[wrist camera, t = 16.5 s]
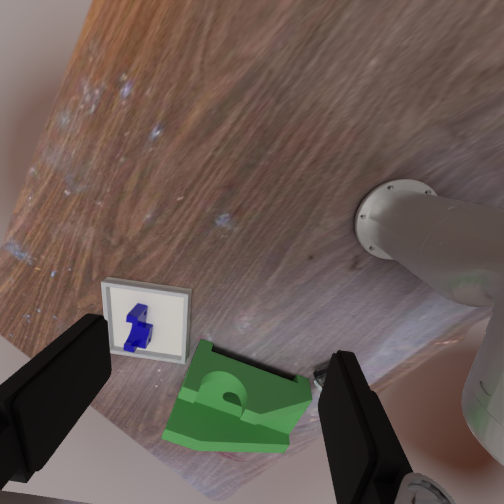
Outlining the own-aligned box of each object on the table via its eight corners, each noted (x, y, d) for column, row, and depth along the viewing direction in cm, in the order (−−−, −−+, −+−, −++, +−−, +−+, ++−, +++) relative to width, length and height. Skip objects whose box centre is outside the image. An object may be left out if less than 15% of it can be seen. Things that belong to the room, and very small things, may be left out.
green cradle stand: (182, 382, 56) (161, 438, 44) (201, 337, 51) (182, 386, 40) (282, 418, 57) (285, 480, 46) (308, 377, 53) (319, 435, 42)
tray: (191, 288, 47) (188, 294, 45) (188, 356, 53) (184, 364, 51) (108, 276, 48) (100, 281, 45) (113, 345, 53) (106, 352, 51)
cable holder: (151, 340, 51) (141, 354, 47) (134, 336, 51) (123, 350, 47) (155, 307, 48) (146, 319, 44) (137, 302, 48) (126, 314, 44)
